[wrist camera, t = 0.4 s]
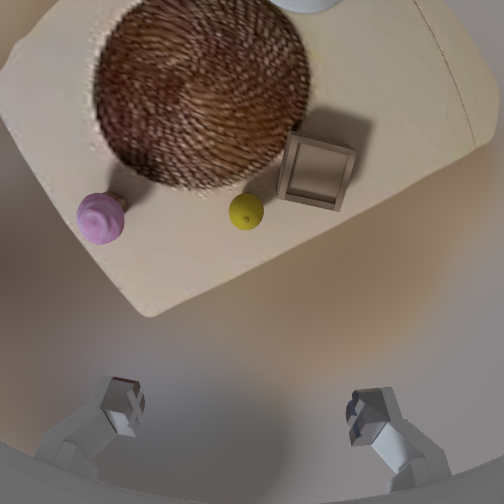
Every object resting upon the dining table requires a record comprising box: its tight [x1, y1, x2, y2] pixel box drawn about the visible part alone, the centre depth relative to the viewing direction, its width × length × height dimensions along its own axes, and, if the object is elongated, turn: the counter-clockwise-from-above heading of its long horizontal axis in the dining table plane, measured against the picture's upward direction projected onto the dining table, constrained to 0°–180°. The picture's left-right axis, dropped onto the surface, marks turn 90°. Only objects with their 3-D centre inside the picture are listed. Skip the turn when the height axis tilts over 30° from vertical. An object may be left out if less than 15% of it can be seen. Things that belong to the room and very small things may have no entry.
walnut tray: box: [276, 130, 357, 212], centre depth 48 cm, size 10×10×6 cm
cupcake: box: [76, 192, 127, 245], centre depth 50 cm, size 9×9×10 cm
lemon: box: [229, 193, 264, 230], centre depth 50 cm, size 6×6×8 cm
